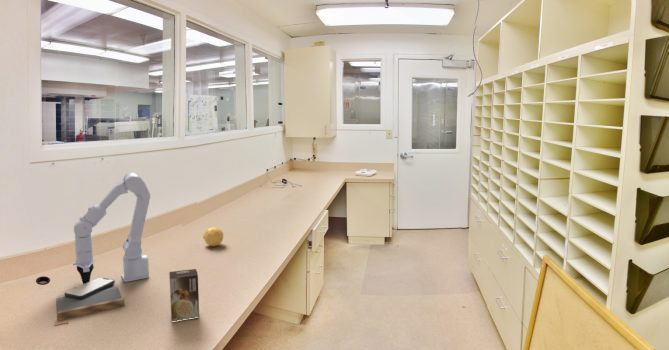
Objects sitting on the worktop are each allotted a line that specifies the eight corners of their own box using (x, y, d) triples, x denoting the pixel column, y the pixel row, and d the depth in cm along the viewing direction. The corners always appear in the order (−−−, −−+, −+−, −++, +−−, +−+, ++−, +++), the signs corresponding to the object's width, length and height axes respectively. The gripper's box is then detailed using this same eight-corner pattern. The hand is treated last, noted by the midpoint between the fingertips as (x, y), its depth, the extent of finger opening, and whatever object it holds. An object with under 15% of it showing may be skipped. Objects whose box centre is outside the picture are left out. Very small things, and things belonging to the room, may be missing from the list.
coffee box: (197, 310, 144) (197, 268, 142) (199, 319, 138) (198, 275, 136) (170, 314, 141) (169, 271, 138) (170, 323, 135) (169, 278, 132)
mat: (117, 286, 161) (116, 285, 160) (124, 304, 147) (124, 303, 146) (56, 298, 149) (56, 297, 149) (57, 319, 135) (57, 317, 135)
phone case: (80, 300, 147) (116, 283, 162) (80, 296, 147) (116, 279, 162) (63, 297, 150) (99, 280, 165) (62, 293, 150) (99, 276, 165)
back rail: (124, 304, 147) (123, 297, 146) (124, 305, 145) (124, 299, 145) (57, 318, 135) (57, 311, 134) (58, 320, 134) (57, 313, 133)
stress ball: (214, 243, 217) (199, 233, 213) (226, 230, 217) (212, 220, 213) (214, 253, 208) (199, 242, 204) (227, 239, 208) (212, 228, 204)
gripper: (71, 246, 161) (73, 278, 164) (73, 258, 150) (75, 292, 152) (91, 243, 166) (93, 275, 168) (94, 254, 154) (96, 288, 156)
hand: (86, 282), depth 160 cm, fingers closed
